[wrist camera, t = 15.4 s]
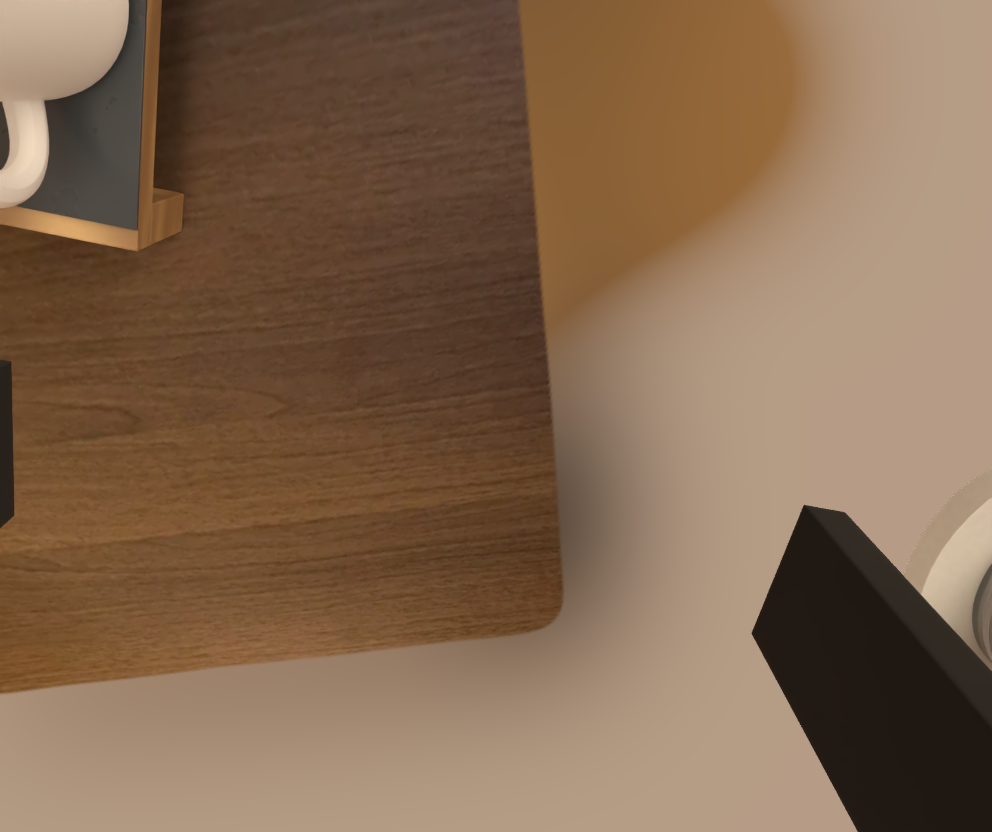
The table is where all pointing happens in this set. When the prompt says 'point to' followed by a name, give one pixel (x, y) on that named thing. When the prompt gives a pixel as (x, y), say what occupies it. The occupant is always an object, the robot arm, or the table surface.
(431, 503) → the table surface
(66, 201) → the shelf
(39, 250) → the table surface
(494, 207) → the table surface
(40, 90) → the mug
